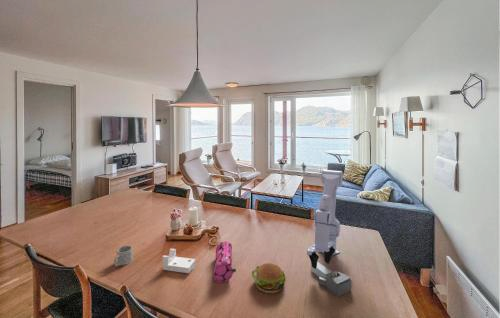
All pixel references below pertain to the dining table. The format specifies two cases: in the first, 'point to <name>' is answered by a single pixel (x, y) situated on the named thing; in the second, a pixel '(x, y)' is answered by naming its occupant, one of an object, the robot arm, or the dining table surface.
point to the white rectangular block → (321, 271)
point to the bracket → (178, 263)
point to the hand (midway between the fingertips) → (320, 265)
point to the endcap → (337, 283)
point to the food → (269, 278)
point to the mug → (124, 256)
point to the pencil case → (223, 262)
